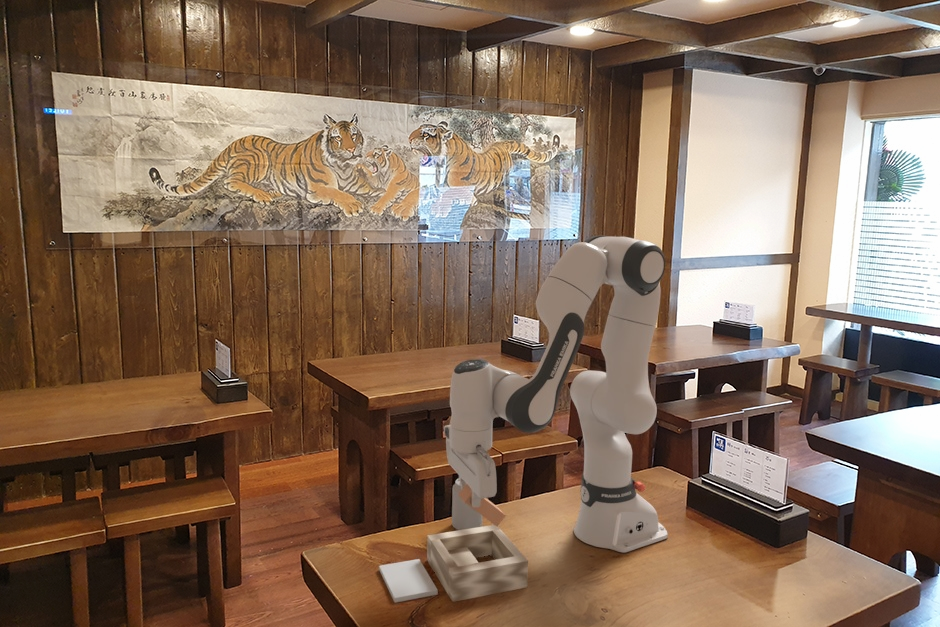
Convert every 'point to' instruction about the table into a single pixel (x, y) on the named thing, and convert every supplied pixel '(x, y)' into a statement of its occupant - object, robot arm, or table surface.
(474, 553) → the pocket block
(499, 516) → the bar
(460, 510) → the can
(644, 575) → the table surface
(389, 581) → the mat
